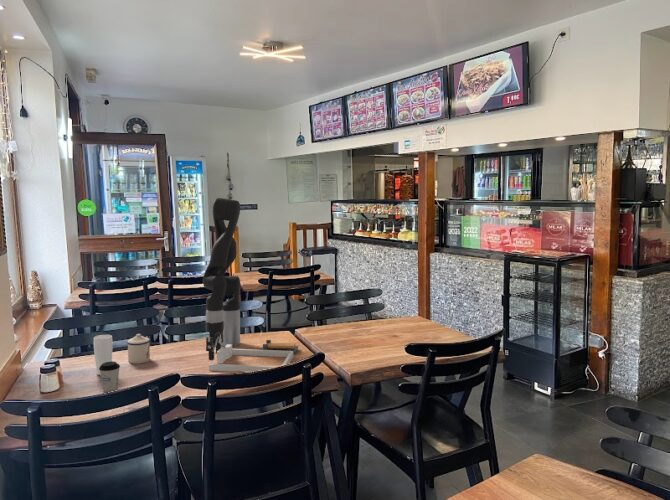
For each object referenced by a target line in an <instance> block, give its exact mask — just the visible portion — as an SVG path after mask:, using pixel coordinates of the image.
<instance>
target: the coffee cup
mask: <svg viewBox="0 0 670 500" xmlns="http://www.w3.org/2000/svg"><path fill="white" fill-rule="evenodd" d="M120 368H121V365H120V364H119V363H117V362H116V361H113V360H112V362H105V363H103V364H102V365H101V366H100V367H99V370H100V374H101V375H100V380H101V385H102V391H103V393H106V392H111V391H115V390H117V391H118V385H119V377H120V376H119V375H120ZM115 392H116V391H115ZM111 393H112V392H111ZM106 394H107V393H106Z"/></svg>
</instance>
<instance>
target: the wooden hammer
mask: <svg viewBox="0 0 670 500" xmlns="http://www.w3.org/2000/svg"><path fill="white" fill-rule="evenodd" d="M267 344H268V348H294V347H295V346H297V344H296V342H271V343H267Z"/></svg>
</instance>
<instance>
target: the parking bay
mask: <svg viewBox="0 0 670 500" xmlns="http://www.w3.org/2000/svg"><path fill="white" fill-rule="evenodd" d="M233 355H234V356H253V357H272V358H273V357H276V358H279V357H280V358H285V359H284V361H283V362H282V365H285V364H288V363H289V364H290V363H291V361H292V360H293V358H294V355H293V351H279V350H261V349H256V348H255V349H250V348H232V356H233ZM282 365H281V366H282ZM273 367H276V366H274V365H273V366H272V365H269V366H268V365H251V364H250V365H249V364H248V365H247V364H231V363H230V364H228V363H225V364H224V363H209V364H208V370H209V371H211V372H212V371H213V372H214V371H215V372H219V371H220V372H231V371H258V370H263V369H269V368H273Z"/></svg>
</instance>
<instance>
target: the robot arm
mask: <svg viewBox="0 0 670 500" xmlns="http://www.w3.org/2000/svg"><path fill="white" fill-rule="evenodd" d="M240 203H241V202H239V201H238V200H235V199H231V198H222V197H216V198H215V199H214V201H213V204H212V216H213V217H212V218H213V225H214V233H215V242H214V243H213V246H212V248H211V253H210V258H209V263H208V265H207V267H206V269H205V272H204V274H203V277H202V284H203V287H204V288H205V289H207V290H210V291H211V292H212V293H211V295H208V296H207V297H206V301H205V304H206V305H205V308H206V310H205V332H206V333H209V336H206V338H205V341H206V342H205V352H208V360H209V361H214V360H215V354H216V355H217V351H218V350H219V349H220V348H221V347H225V346H226V345H227V344H232V347H236V346H239V345H240V344H241V303H240V302H241V301H240V297H241V295H240V294H241V279H240V277H239V276H237V275H230V276H229V275H225V274H226V272H227V271H228V270H229V267H231V265H232V264H233V263H234V261H235V260H236V258H237V255H238V254H237V253H238V252H237V249H238V248H237V242H236V239H235V238H234V234H235V231H236V228H237V224H238V221H239V218H240V213H241V204H240ZM225 221H228V224H227V226H226V223H225ZM225 296H232V297H231V298H230V299H227V300H226V301H224V299H225Z"/></svg>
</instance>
